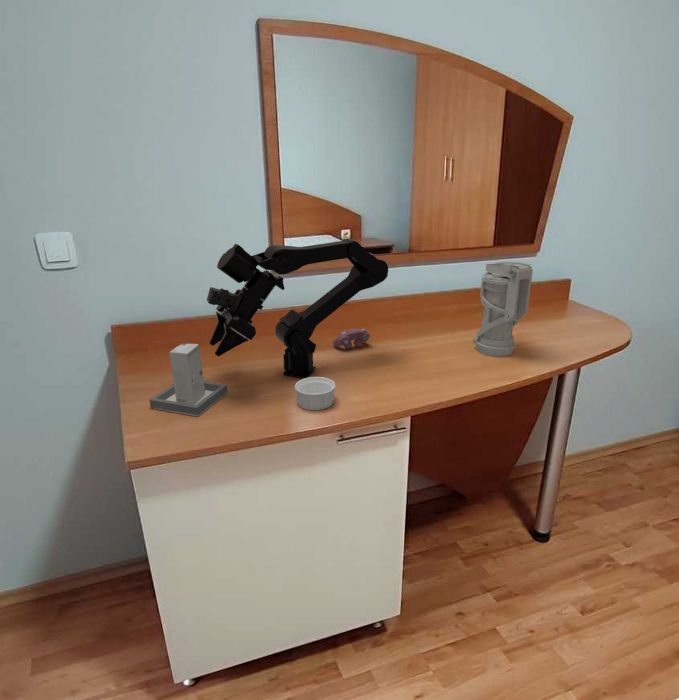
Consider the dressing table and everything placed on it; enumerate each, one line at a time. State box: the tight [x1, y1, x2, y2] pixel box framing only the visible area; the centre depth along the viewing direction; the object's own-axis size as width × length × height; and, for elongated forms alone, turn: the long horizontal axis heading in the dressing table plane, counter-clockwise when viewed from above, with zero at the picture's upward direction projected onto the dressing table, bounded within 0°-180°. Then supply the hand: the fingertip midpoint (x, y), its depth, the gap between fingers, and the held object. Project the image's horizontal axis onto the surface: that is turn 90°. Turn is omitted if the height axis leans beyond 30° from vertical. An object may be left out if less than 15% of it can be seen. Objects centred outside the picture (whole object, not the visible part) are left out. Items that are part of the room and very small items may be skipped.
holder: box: [149, 380, 229, 417], centre depth 114 cm, size 12×12×2 cm
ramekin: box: [294, 376, 336, 411], centre depth 113 cm, size 9×9×4 cm
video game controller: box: [332, 327, 371, 350], centre depth 144 cm, size 10×5×7 cm, turn 115°
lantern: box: [472, 261, 534, 358], centre depth 136 cm, size 13×10×25 cm
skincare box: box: [168, 343, 205, 405], centre depth 113 cm, size 6×4×12 cm
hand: (213, 349), depth 117 cm, fingers open, 9 cm apart
